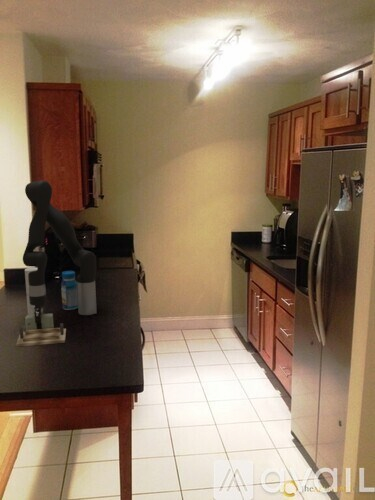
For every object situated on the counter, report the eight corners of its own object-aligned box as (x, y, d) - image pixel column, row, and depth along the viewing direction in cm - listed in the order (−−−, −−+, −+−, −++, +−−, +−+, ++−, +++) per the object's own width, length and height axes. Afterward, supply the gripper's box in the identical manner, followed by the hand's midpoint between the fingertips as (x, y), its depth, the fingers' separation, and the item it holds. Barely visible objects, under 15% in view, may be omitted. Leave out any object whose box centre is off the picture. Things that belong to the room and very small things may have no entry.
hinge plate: (66, 330, 205) (65, 318, 204) (64, 342, 192) (64, 329, 191) (20, 334, 201) (19, 321, 199) (16, 346, 187) (15, 333, 186)
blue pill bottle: (74, 310, 233) (72, 274, 229) (59, 309, 235) (57, 273, 231) (80, 306, 241) (79, 270, 237) (66, 305, 243) (64, 270, 239)
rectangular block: (53, 327, 210) (52, 313, 209) (52, 331, 205) (52, 317, 203) (27, 329, 207) (26, 315, 206) (25, 333, 202) (24, 319, 200)
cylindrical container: (27, 319, 220) (24, 271, 215) (28, 314, 227) (25, 267, 222) (42, 318, 222) (39, 270, 217) (43, 313, 229) (40, 267, 224)
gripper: (44, 297, 197) (47, 333, 200) (47, 288, 211) (49, 322, 214) (27, 298, 195) (29, 334, 199) (30, 289, 209) (33, 323, 212)
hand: (39, 328), depth 206 cm, fingers closed on rectangular block, 4 cm apart
